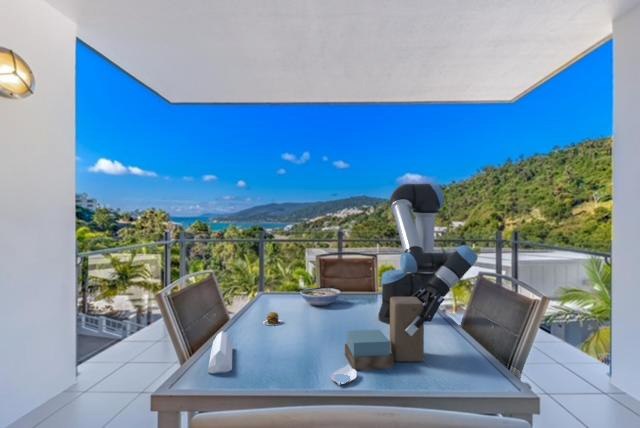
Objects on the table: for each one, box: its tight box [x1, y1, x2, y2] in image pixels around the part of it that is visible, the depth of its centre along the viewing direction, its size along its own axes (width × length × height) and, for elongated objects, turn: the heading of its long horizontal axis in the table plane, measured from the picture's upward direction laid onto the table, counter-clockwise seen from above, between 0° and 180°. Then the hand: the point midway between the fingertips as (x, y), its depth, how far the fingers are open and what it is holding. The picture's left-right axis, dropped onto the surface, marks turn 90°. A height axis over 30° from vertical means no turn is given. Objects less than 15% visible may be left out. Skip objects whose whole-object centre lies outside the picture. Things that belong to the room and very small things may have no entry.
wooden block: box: [389, 297, 425, 363], centre depth 123 cm, size 10×10×20 cm
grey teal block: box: [346, 329, 391, 357], centre depth 120 cm, size 12×12×4 cm
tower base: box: [344, 343, 395, 372], centre depth 119 cm, size 13×13×4 cm
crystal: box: [206, 330, 234, 375], centre depth 120 cm, size 7×7×24 cm
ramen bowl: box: [297, 285, 341, 307], centre depth 198 cm, size 25×23×8 cm
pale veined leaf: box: [330, 362, 358, 386], centre depth 106 cm, size 8×12×2 cm, turn 161°
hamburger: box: [262, 311, 283, 327], centre depth 163 cm, size 12×12×6 cm
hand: (400, 327), depth 122 cm, fingers closed on wooden block, 11 cm apart
